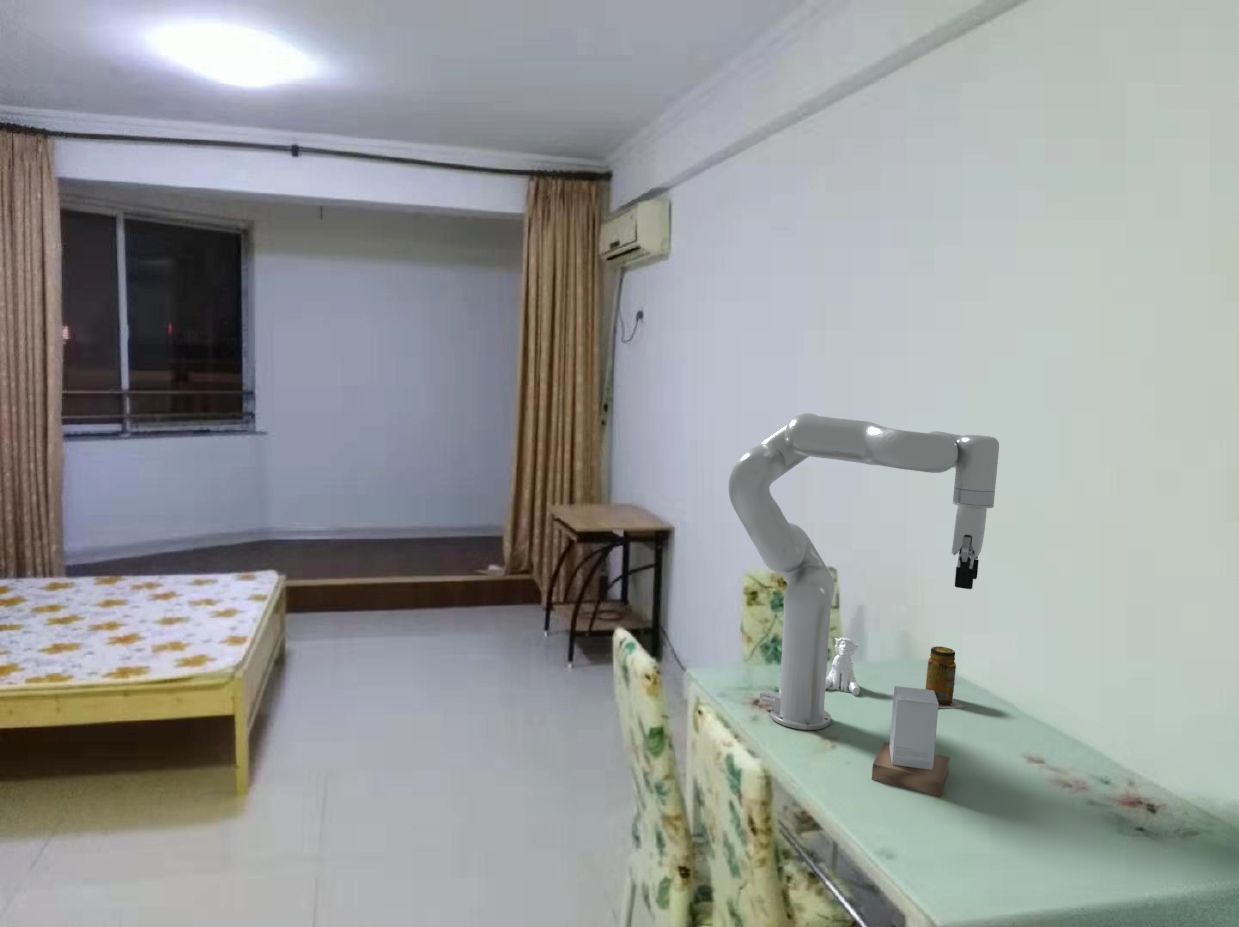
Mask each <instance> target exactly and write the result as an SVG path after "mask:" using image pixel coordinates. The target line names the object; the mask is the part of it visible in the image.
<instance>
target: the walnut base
mask: <svg viewBox="0 0 1239 927" xmlns="http://www.w3.org/2000/svg"><path fill="white" fill-rule="evenodd" d="M889 746H890V742H883V744H882V745H881V747H880V750H879V751H878V753H877V755H876V757H875V759H874V761H873V763H872V771H871V772H872V773H871V780H872V781H876V782H880V783H884V784H888V785H893V786H897V787H899V788H900V787H901V788H906V789H910V790H913V791H918V792H921V793H926V794H929V795H934V796H938V797H941V796H942V792H943V790H944V786H945V783H946V780H947V777H948V773H949V767H950V766H949V765H950V756H948V755H942V754H938V753H935V752H934V763H933V770H926V769H920V768H913V767H906V766H899V765H893V764H892V762H891V756H890V750H889Z"/></svg>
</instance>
